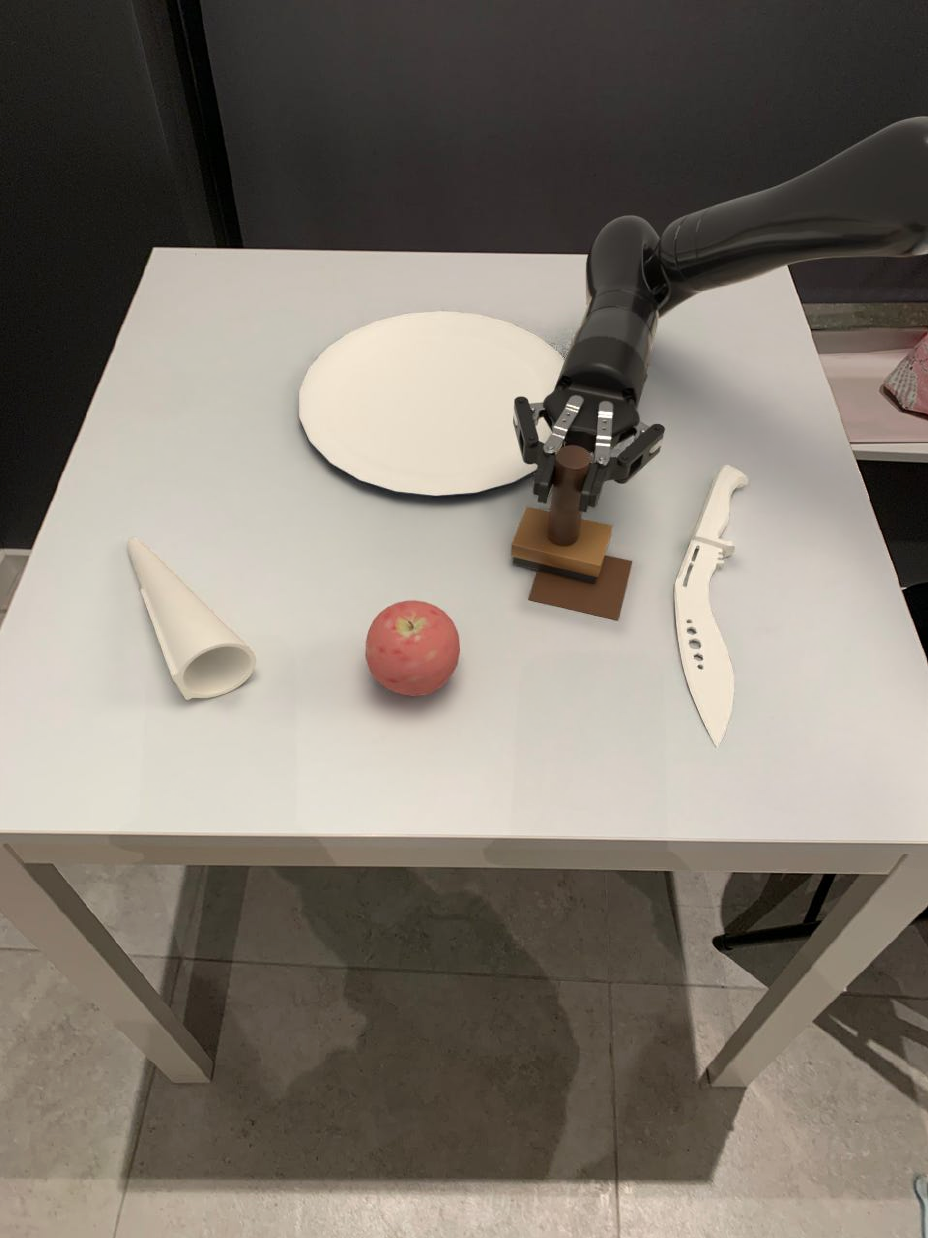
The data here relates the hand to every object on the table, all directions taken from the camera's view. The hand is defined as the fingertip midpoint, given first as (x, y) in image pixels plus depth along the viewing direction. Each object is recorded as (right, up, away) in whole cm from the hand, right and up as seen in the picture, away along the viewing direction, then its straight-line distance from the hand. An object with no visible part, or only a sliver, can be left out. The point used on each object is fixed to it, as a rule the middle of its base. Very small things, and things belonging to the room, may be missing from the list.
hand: (563, 499), depth 75 cm
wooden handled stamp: (+1, -4, +10) cm, 10 cm away
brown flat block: (+2, -6, +8) cm, 10 cm away
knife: (+14, -8, +7) cm, 18 cm away
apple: (-12, -14, +2) cm, 19 cm away
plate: (-10, +13, +22) cm, 28 cm away
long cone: (-32, -9, +6) cm, 34 cm away
